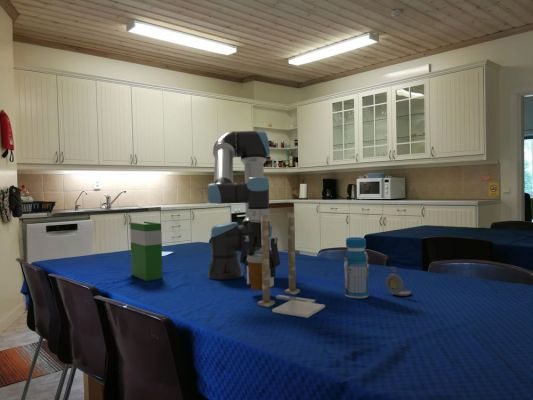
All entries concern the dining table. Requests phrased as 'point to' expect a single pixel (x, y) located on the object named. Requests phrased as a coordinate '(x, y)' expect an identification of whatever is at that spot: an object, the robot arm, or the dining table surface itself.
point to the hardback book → (146, 250)
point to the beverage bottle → (356, 268)
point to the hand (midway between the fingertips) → (260, 284)
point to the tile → (298, 308)
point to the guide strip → (295, 299)
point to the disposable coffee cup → (255, 270)
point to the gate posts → (265, 259)
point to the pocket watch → (398, 282)
